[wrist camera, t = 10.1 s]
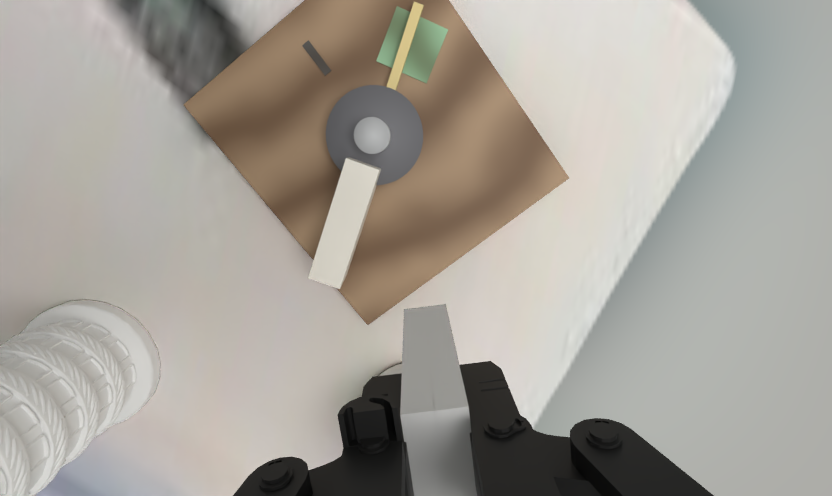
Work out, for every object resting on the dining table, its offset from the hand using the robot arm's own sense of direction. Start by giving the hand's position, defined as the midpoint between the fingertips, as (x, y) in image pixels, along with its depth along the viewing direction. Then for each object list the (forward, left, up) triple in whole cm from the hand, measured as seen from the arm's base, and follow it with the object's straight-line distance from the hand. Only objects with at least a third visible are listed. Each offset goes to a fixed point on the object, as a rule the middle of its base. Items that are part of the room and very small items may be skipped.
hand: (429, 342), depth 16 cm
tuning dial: (-8, +2, -20) cm, 22 cm away
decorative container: (-8, -30, -23) cm, 38 cm away
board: (-8, +2, -22) cm, 24 cm away
